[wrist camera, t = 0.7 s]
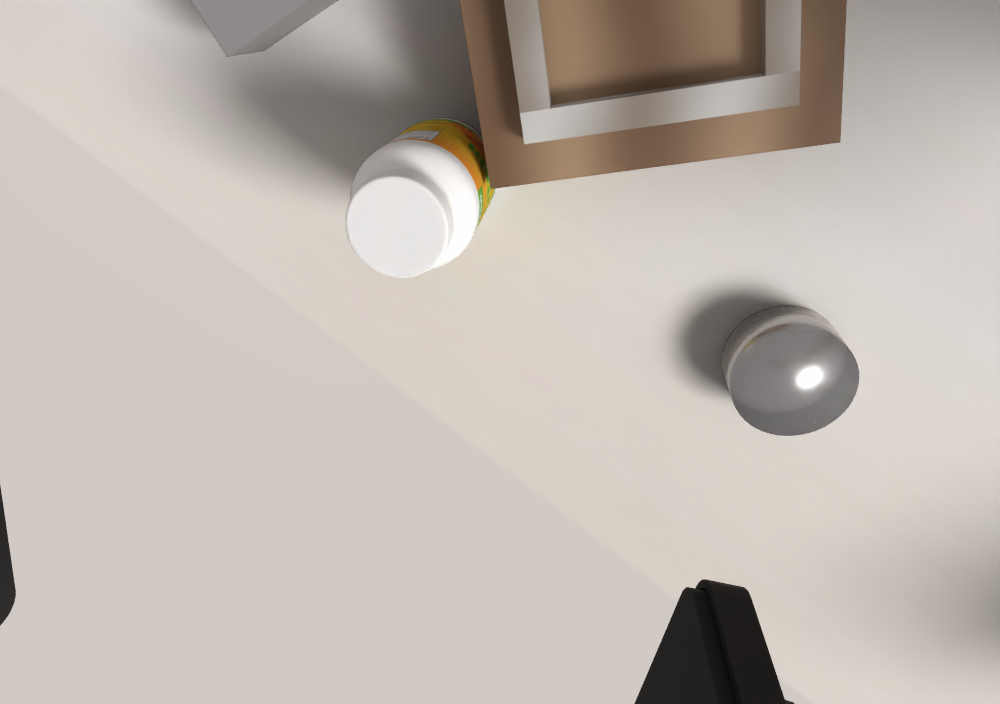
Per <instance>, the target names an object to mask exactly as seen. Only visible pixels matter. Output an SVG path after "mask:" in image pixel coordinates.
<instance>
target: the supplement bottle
mask: <svg viewBox="0 0 1000 704" xmlns="http://www.w3.org/2000/svg"><path fill="white" fill-rule="evenodd" d="M494 192H495V188H494V189H491V188H490V182H489V175H488V169H487V163H486V157H485V151H484V145H483V139H482V136H481V135H480V134H479V133H478V132H477V131H475V130H474V129H473V128H471V127H470V126H468V125H467V124H464V123H462V122H460V121H457V120H454V119H448V118H433V119H427V120H424V121H421V122H419V123H417V124H415V125H413V126H411V127H409V128H408V129H407V130H405V131H404V132H402V133H401V134H399V135H398V136H397V137H395V138H394V139H392V140H391V141H390V142H388V143H387V144H386V145H384V146H383V147H381V148H380V149H378V150H377V151H376V152H374V153H373V154H372V155H371V156H370V157H369V158H368V159H367V160H366V161H365V162H364V163H363V164H362V166H361V167H360V169H359V170H358V172H357V174H356V176H355V178H354V181H353V184H352V188H351V195H350V202H349V205H348V208H347V212H346V231H347V236H348V239H349V242H350V244H351V246H352V248H353V250H354V252H355V253H356V254H357V256H358V257H359V258H360V259H361V260H362V261H363V262H364V263H365V264H366V265H367V266H368V267H370V268H371V269H373V270H374V271H376V272H378V273H381V274H383V275H386V276H390V277H396V278H409V277H413V276H417V275H420V274H422V273H424V272H426V271H428V270H430V269H434V268H437V267H440V266H442V265H445V264H446V263H448V262H450V261H451V260H453V259H454V258H456V257H457V256H458V255H459V254H460V253H461V252H462V251H463V250H464V249H465V248H466V246H467V245H468V244H469V242H470V241H471V239H472V237H473V235H474V233H475V231H476V229H477V227H478V225H479V223H480V221H481V219H482V217H483V215H484V214H485V212H486V210H487V208H488V206H489V204H490V202H491V200H492V198H493V195H494Z"/></svg>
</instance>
